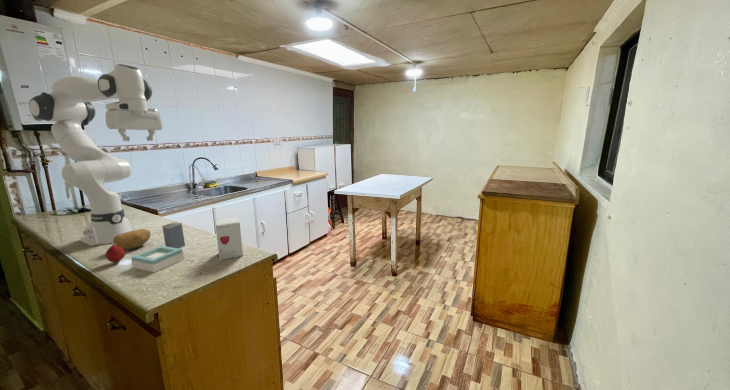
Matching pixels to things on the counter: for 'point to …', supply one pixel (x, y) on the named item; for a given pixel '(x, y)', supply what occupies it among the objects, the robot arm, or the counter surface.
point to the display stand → (157, 258)
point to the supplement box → (229, 238)
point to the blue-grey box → (173, 235)
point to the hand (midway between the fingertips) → (138, 140)
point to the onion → (115, 253)
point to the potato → (132, 239)
